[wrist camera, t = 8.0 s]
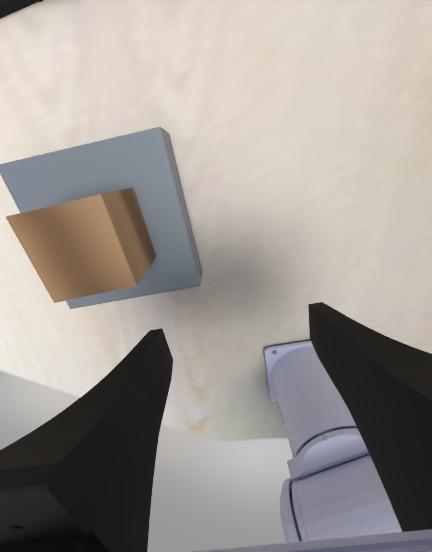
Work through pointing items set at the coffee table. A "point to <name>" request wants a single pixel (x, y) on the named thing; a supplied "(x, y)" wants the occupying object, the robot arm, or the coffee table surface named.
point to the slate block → (112, 177)
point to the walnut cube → (87, 244)
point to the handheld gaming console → (14, 6)
